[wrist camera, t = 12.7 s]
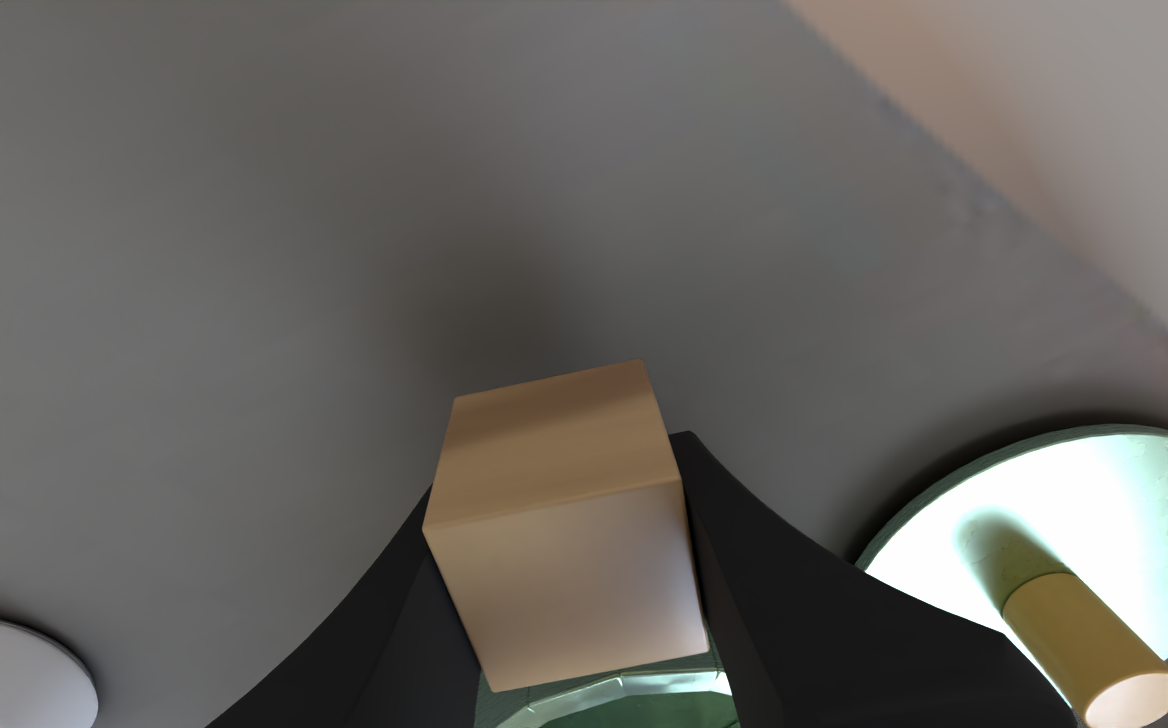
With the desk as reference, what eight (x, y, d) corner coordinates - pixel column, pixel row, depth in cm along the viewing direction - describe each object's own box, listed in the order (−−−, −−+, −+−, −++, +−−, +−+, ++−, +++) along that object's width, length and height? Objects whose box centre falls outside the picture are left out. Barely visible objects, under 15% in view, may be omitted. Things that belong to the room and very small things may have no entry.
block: (453, 396, 13) (418, 529, 9) (642, 356, 13) (681, 476, 9) (503, 538, 15) (491, 695, 11) (670, 505, 15) (711, 653, 11)
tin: (868, 642, 22) (950, 793, 17) (628, 793, 25) (645, 951, 21) (642, 459, 17) (676, 598, 13) (390, 669, 21) (349, 835, 16)
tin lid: (1276, 562, 21) (1448, 684, 17) (948, 741, 25) (1026, 876, 21) (1126, 326, 16) (1314, 417, 12) (751, 589, 20) (803, 725, 16)
